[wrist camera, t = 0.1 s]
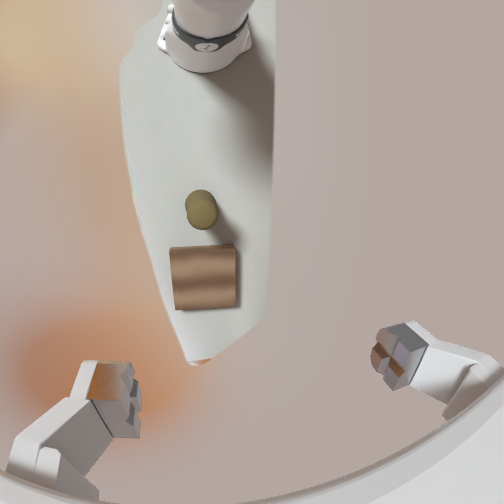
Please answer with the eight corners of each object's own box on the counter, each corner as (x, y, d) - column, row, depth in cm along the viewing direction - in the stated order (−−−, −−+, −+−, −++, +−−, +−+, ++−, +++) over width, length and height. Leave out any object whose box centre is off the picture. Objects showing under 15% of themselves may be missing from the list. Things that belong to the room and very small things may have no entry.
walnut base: (170, 247, 54) (169, 252, 52) (232, 244, 57) (235, 249, 54) (175, 303, 59) (175, 310, 56) (233, 299, 61) (235, 305, 59)
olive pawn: (221, 209, 54) (228, 222, 44) (195, 225, 54) (196, 241, 44) (205, 183, 52) (209, 190, 42) (179, 200, 52) (177, 210, 42)
